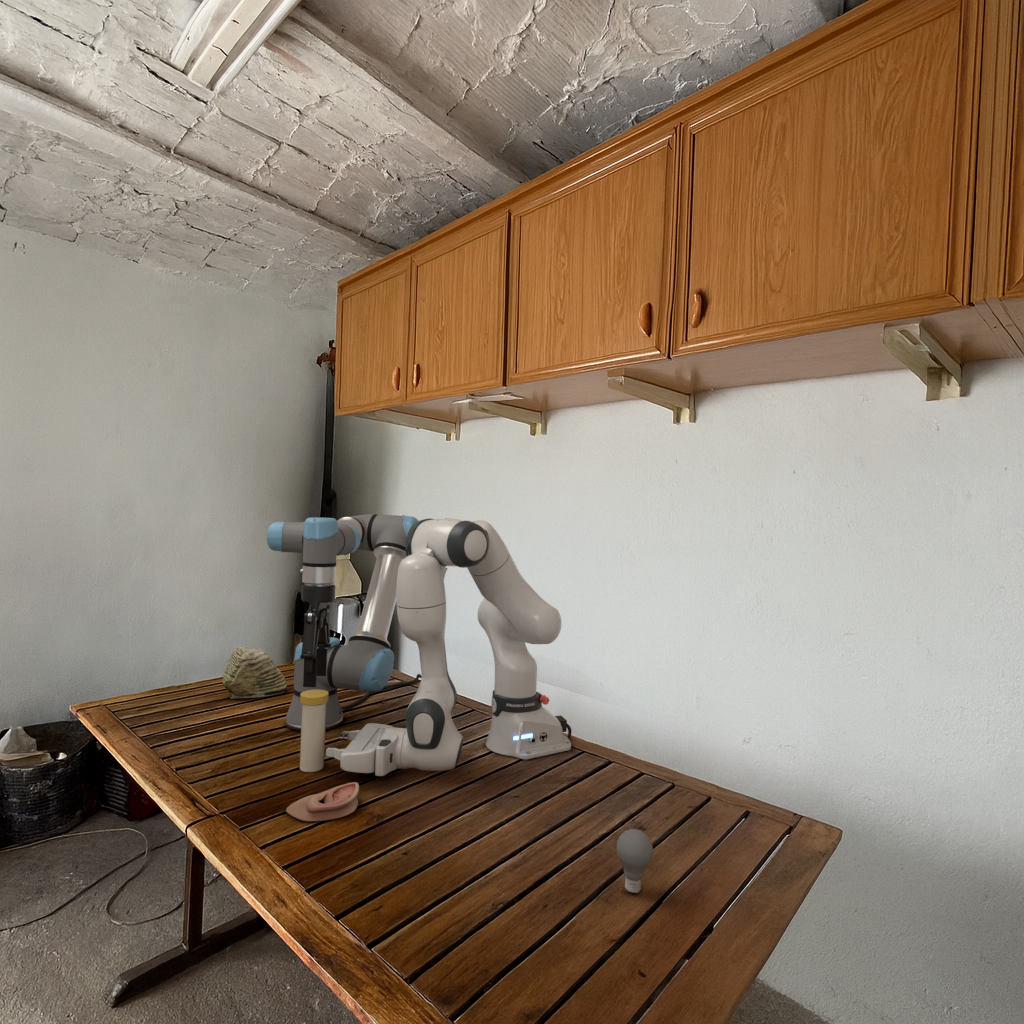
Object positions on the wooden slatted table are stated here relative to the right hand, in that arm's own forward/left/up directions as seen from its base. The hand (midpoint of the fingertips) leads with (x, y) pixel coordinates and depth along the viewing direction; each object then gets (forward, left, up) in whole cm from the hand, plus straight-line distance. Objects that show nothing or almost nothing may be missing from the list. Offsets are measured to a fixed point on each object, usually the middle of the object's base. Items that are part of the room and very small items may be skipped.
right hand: (334, 743), depth 147 cm
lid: (+5, -2, +11) cm, 12 cm away
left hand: (+5, -2, +14) cm, 15 cm away
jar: (+5, -2, -6) cm, 8 cm away
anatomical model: (+4, +19, -6) cm, 20 cm away
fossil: (+18, -61, -6) cm, 64 cm away
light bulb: (-43, +61, -6) cm, 75 cm away
